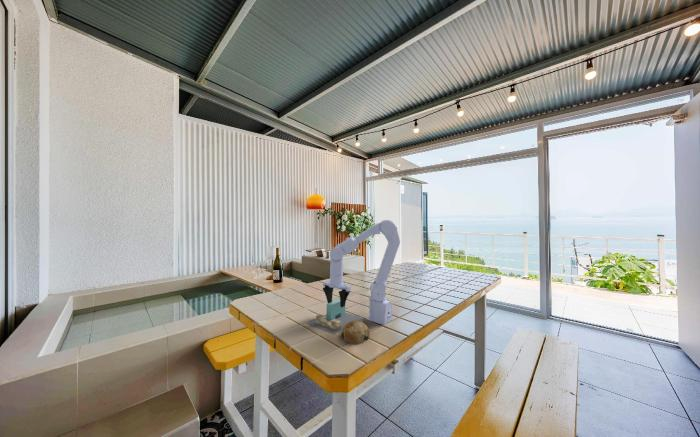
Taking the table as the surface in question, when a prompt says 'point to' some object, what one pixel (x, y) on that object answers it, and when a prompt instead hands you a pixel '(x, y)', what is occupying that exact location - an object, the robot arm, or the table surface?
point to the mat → (343, 319)
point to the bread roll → (355, 332)
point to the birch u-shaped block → (328, 322)
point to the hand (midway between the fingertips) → (336, 304)
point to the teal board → (334, 310)
